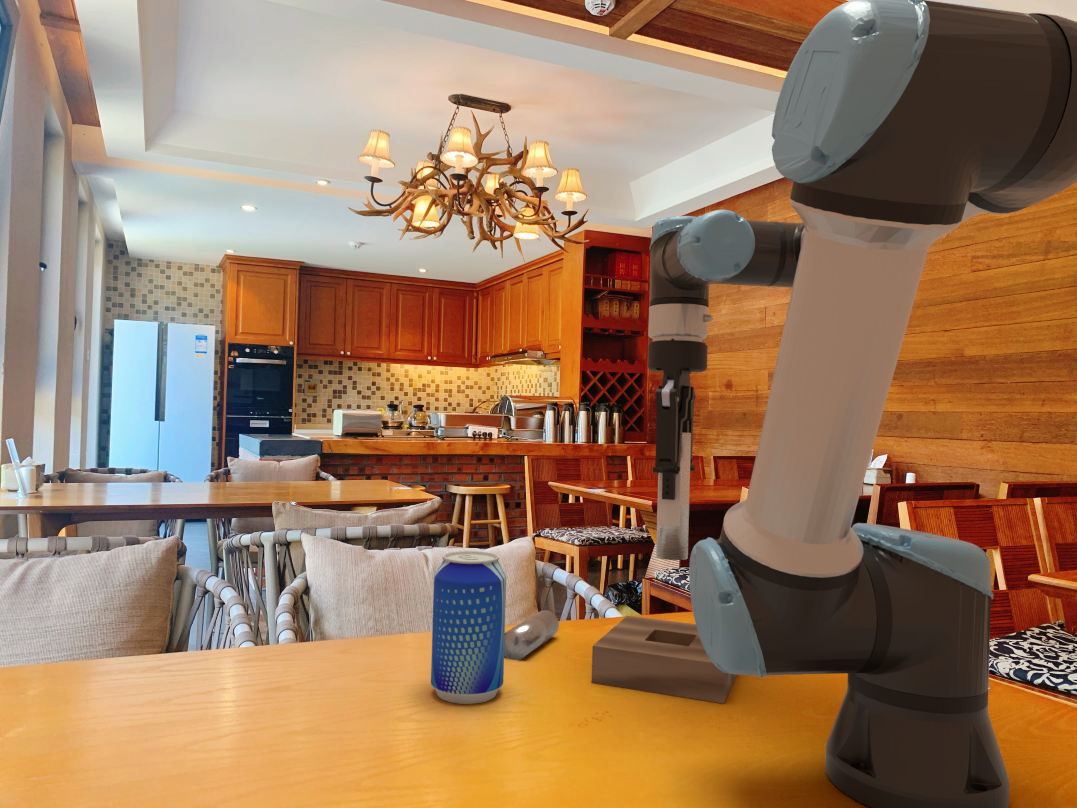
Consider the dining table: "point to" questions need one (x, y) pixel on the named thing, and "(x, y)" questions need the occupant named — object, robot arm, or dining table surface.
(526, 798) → the dining table surface
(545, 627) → the lying peg
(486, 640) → the beer can
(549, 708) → the dining table surface
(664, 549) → the peg
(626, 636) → the socket block
